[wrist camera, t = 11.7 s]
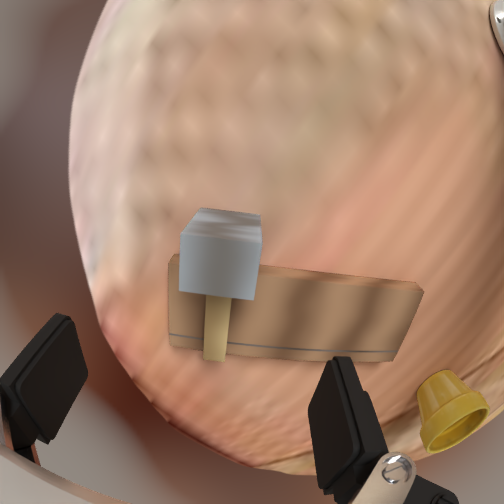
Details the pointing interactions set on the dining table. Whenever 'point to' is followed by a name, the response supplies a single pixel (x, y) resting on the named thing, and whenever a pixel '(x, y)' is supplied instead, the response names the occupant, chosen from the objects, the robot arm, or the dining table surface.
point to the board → (303, 316)
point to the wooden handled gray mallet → (220, 268)
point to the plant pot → (448, 411)
